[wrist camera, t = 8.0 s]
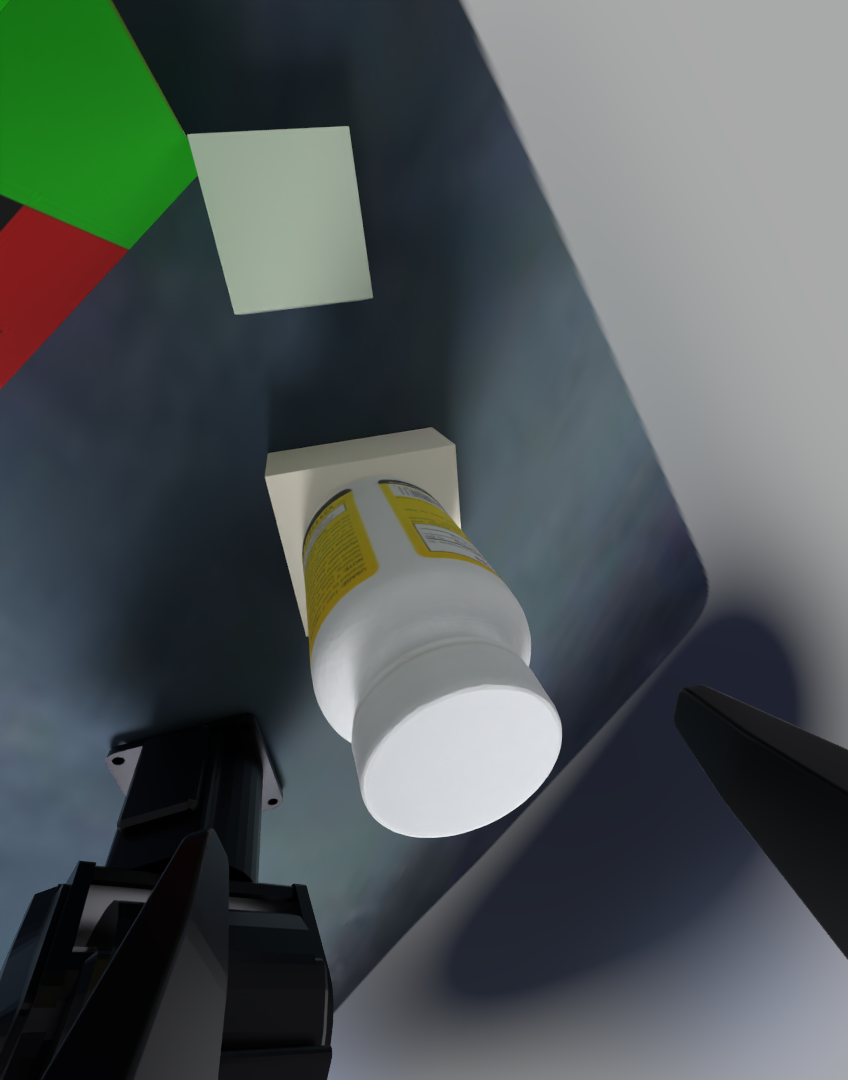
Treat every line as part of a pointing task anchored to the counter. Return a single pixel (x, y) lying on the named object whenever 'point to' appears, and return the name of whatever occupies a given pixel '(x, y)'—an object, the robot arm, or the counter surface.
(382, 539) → the supplement bottle
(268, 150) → the brick
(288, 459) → the base brick
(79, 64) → the puzzle toy
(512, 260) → the counter surface
